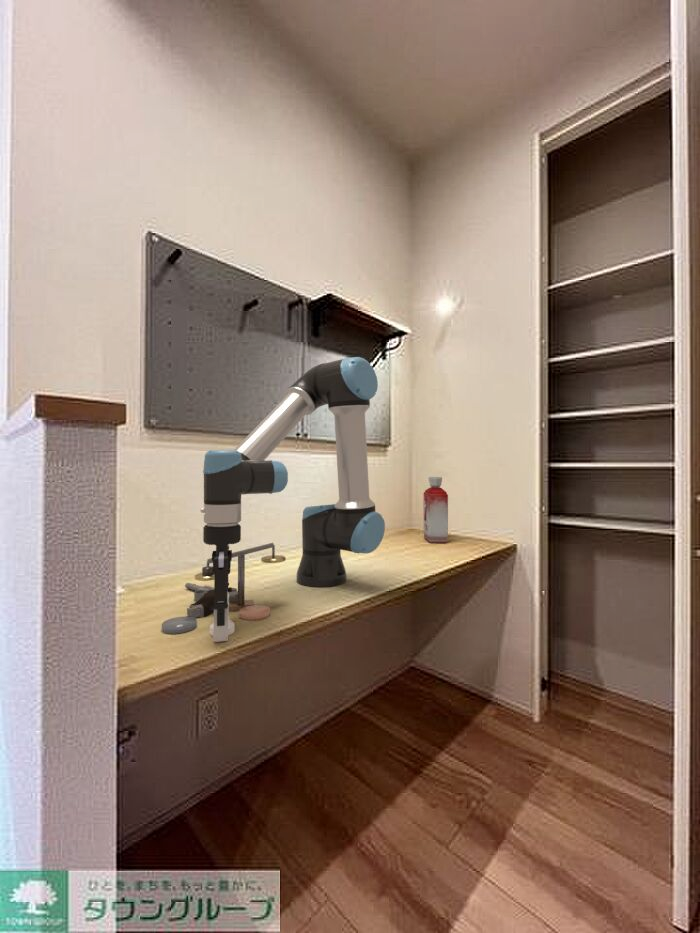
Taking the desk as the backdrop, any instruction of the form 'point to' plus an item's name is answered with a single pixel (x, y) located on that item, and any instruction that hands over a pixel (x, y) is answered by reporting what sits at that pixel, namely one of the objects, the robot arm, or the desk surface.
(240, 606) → the balance
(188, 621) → the dish slate
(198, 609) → the handgun
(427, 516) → the bottle
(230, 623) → the chess pawn
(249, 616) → the pink disc
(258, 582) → the desk surface
